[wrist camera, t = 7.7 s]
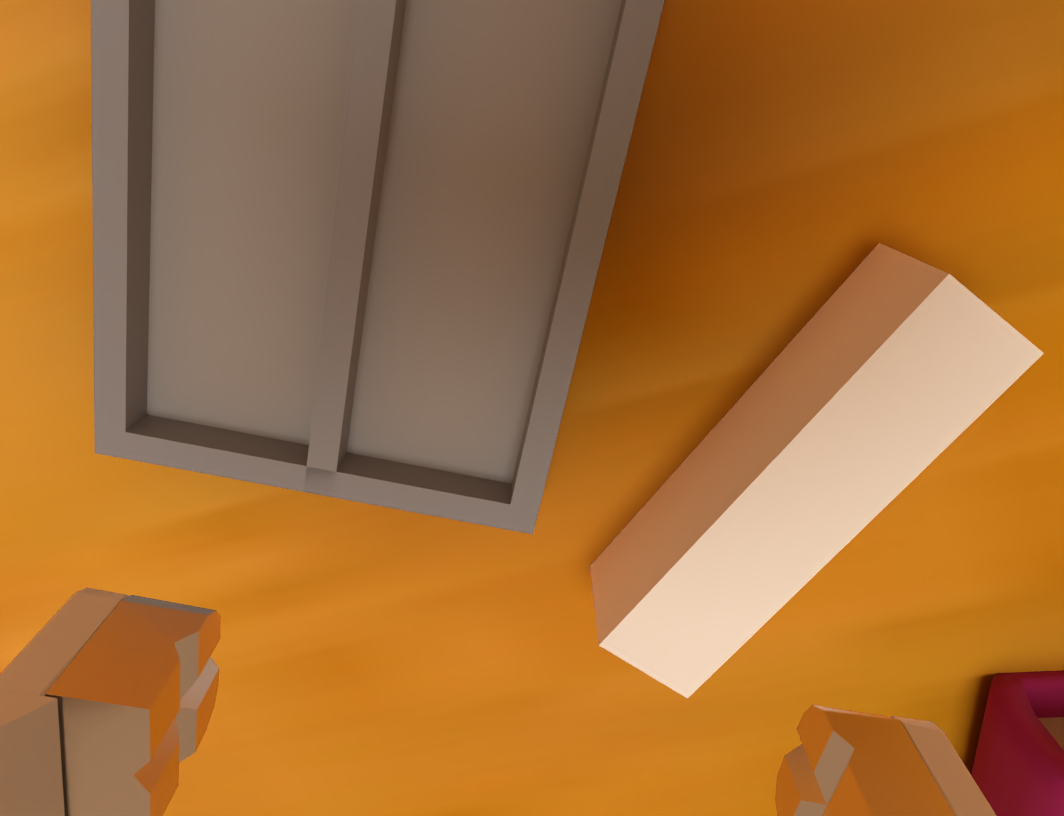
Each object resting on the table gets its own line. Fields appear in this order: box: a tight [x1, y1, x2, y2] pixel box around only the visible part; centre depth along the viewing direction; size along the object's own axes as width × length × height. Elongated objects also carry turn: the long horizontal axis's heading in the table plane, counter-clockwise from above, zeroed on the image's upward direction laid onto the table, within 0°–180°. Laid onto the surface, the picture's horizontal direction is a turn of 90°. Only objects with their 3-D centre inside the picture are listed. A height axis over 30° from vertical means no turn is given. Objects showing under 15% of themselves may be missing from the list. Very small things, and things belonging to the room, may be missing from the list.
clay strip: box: [590, 243, 1044, 698], centre depth 27 cm, size 16×4×5 cm, turn 144°
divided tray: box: [91, 0, 665, 534], centre depth 24 cm, size 21×15×3 cm
